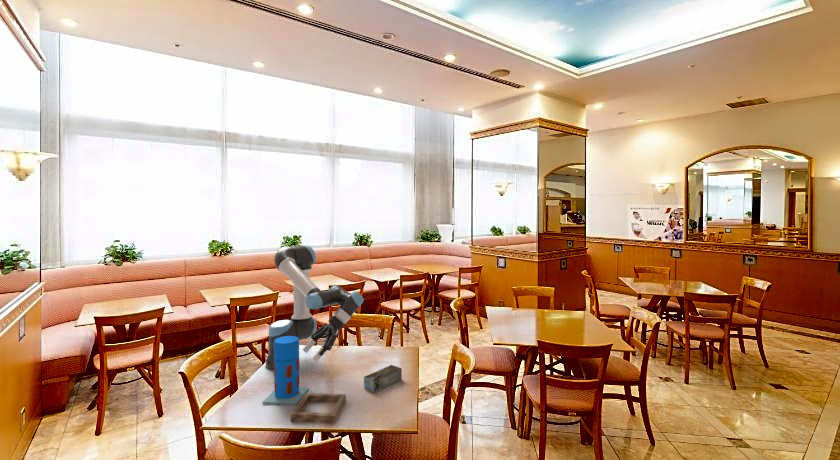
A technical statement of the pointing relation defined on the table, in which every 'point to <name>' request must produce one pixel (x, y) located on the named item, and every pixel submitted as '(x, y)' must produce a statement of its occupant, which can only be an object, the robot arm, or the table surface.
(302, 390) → the mat
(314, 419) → the dock
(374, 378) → the beverage carton
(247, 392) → the table surface
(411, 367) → the table surface
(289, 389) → the thermos
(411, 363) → the table surface
